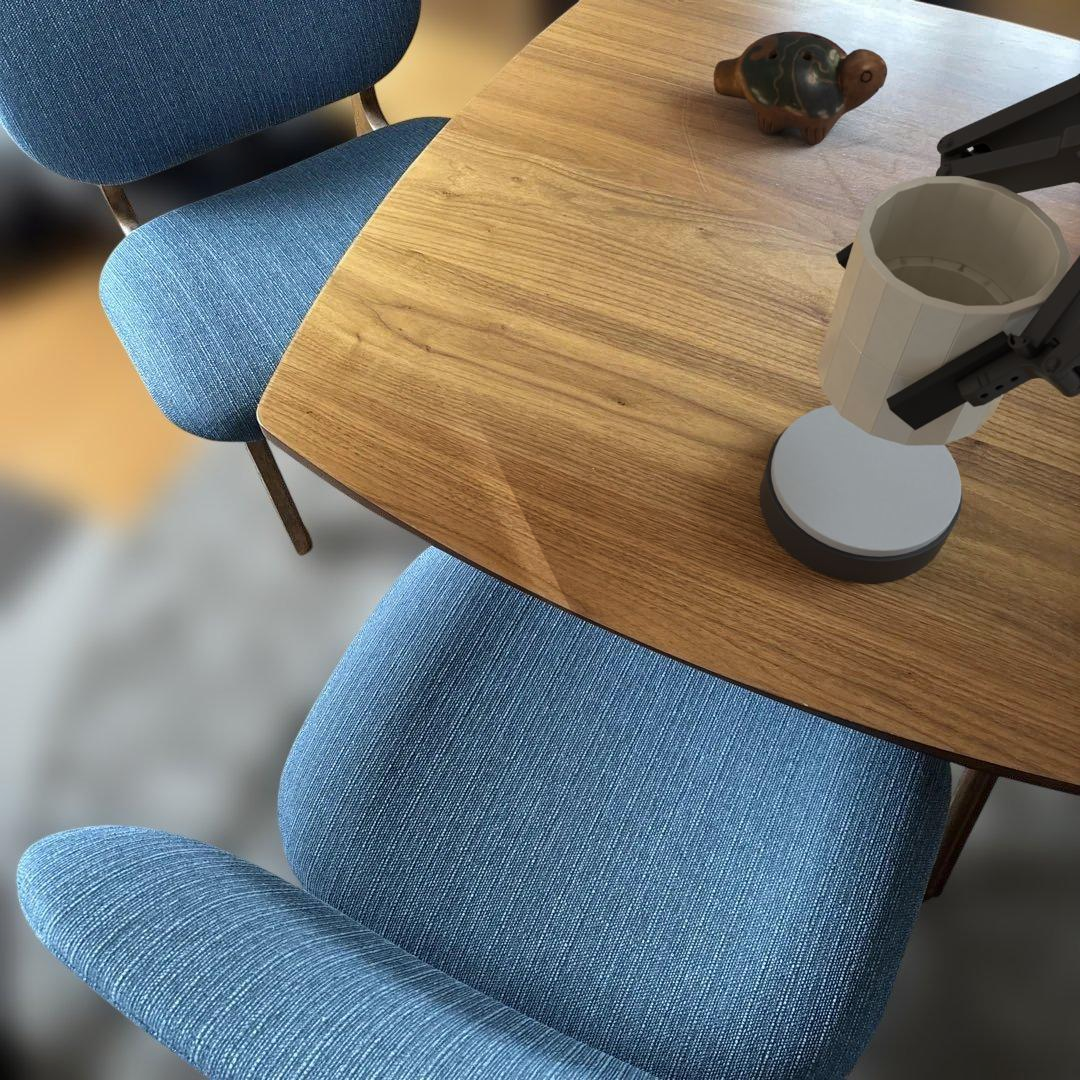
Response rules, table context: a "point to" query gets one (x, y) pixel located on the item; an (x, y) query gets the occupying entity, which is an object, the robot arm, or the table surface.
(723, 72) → the decorative turtle
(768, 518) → the scale
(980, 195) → the faceted beige cup
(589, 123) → the table surface
